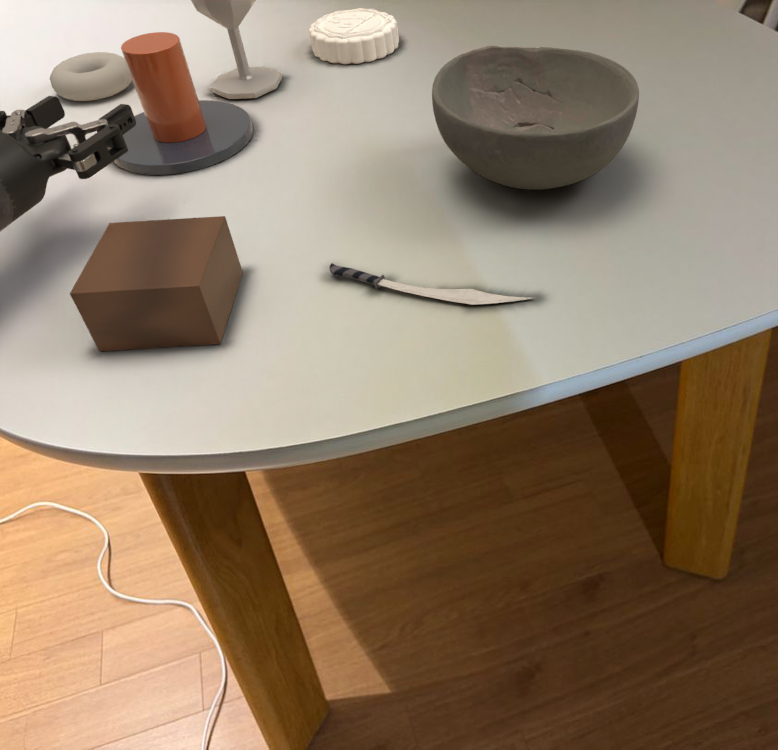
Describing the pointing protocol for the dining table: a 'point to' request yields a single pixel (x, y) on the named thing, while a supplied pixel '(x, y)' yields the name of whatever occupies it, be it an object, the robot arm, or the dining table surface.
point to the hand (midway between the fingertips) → (94, 109)
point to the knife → (444, 294)
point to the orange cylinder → (164, 86)
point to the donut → (90, 76)
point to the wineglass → (237, 52)
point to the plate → (188, 142)
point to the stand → (159, 284)
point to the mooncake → (354, 36)
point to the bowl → (534, 113)
